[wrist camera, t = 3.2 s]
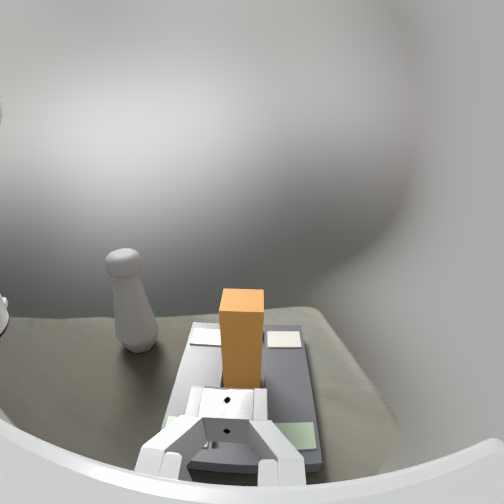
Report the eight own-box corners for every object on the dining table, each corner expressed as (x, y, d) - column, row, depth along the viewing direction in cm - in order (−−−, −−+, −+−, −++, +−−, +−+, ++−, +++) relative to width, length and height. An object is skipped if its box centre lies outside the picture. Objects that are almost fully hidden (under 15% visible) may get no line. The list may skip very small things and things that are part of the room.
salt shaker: (164, 352, 35) (148, 258, 30) (121, 361, 32) (96, 267, 27) (156, 326, 40) (143, 240, 35) (118, 334, 37) (98, 247, 32)
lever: (224, 398, 27) (218, 310, 23) (227, 374, 30) (223, 288, 26) (259, 399, 27) (263, 312, 23) (259, 375, 30) (263, 289, 26)
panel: (159, 463, 20) (153, 453, 19) (194, 334, 39) (193, 321, 38) (317, 471, 20) (322, 461, 19) (299, 337, 38) (300, 324, 37)
